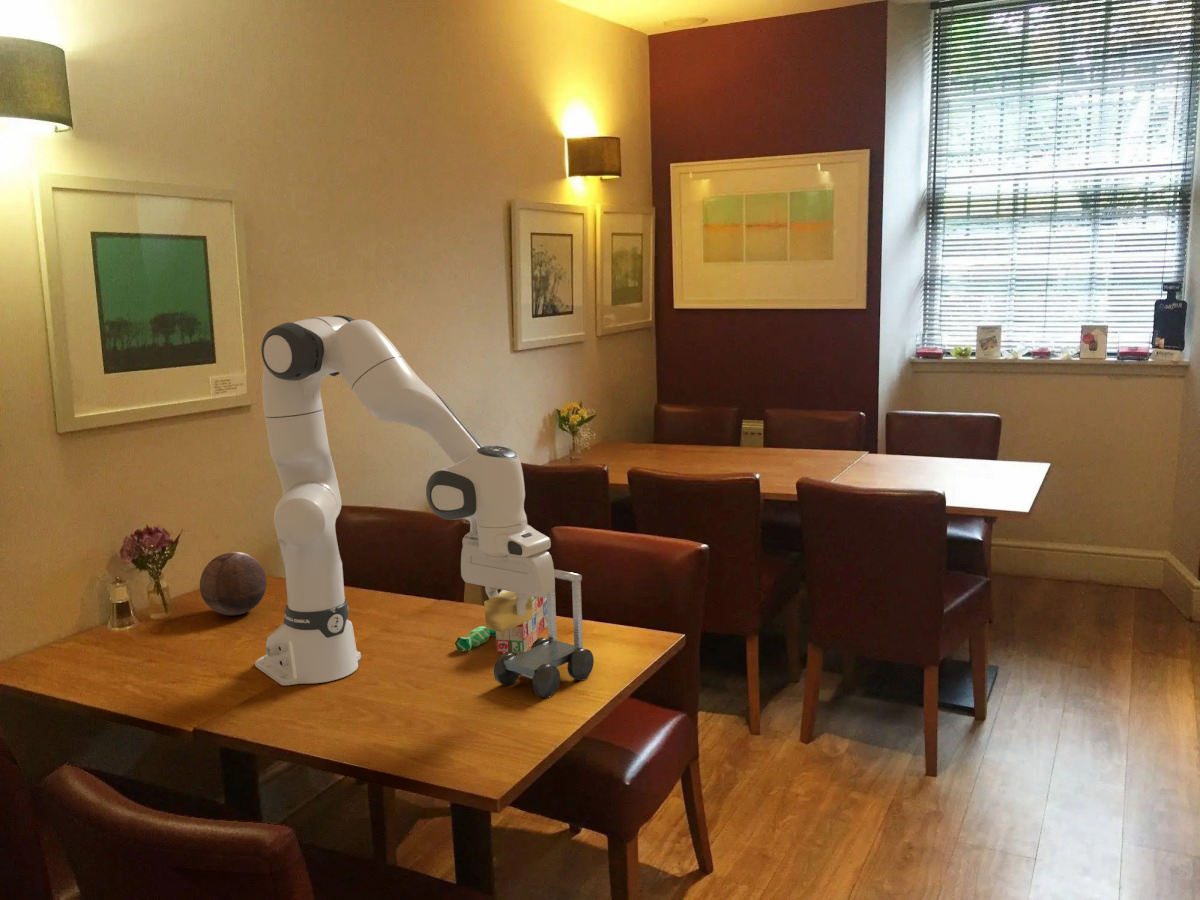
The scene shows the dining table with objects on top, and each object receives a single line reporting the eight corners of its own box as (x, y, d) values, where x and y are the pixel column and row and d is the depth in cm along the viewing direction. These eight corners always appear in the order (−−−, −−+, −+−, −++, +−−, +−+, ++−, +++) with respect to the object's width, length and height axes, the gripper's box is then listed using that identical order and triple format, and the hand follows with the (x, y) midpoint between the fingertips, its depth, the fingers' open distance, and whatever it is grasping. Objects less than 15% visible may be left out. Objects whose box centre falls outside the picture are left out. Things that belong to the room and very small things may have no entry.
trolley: (550, 661, 204) (546, 564, 201) (594, 674, 197) (590, 573, 194) (494, 687, 192) (489, 584, 189) (539, 702, 185) (534, 595, 182)
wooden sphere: (281, 605, 247) (275, 545, 244) (246, 625, 232) (240, 563, 230) (226, 602, 250) (221, 544, 247) (189, 622, 236) (183, 560, 233)
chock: (486, 628, 179) (484, 601, 178) (516, 614, 185) (514, 588, 184) (502, 632, 176) (500, 605, 175) (533, 618, 182) (531, 592, 181)
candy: (484, 629, 223) (492, 615, 221) (495, 639, 222) (503, 626, 220) (452, 647, 212) (460, 633, 211) (463, 658, 211) (472, 644, 210)
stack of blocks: (526, 619, 231) (523, 567, 229) (552, 620, 230) (550, 568, 228) (496, 653, 211) (493, 597, 208) (524, 655, 209) (522, 598, 207)
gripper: (449, 535, 182) (456, 608, 184) (533, 549, 169) (538, 627, 171) (474, 527, 187) (480, 598, 189) (557, 540, 174) (562, 616, 176)
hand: (508, 612), depth 180 cm, fingers closed on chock, 4 cm apart
